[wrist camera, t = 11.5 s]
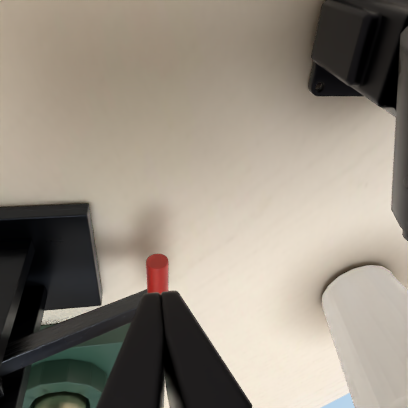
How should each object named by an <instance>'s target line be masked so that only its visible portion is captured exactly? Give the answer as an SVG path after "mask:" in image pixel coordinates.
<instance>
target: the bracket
mask: <svg viewBox="0 0 408 408" xmlns="http://www.w3.org/2000/svg"><path fill="white" fill-rule="evenodd" d="M101 303H102V288H101V281H100V275H99V268H98V261H97V254H96V248H95V241H94V234H93V227H92V221H91V214H90V207H89V204H66V205H43V206H21V207H0V367H1V364H2V361H3V357H4V354H5V350H6V347H7V344H8V343H9V342H11V341H14V340H17V339H19V338H22V337H24V336H27V335H30V334H32V333H35V332H37V331H40V326H41V322H42V317H43V313H44V310H55V309H67V308H78V307H90V306H100V305H101ZM31 366H32V364H31V365H28V366H26V367H23V368H21V369H19V370H16V371H14V372H12V373H9V374H7V375H4V376H2V380H3V386H4V392H5V395H4V396H3V397H1V398H0V408H22V406H23V402H24V397H25V393H26V388H27V384H28V379H29V375H30V371H31Z"/></svg>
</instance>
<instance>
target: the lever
mask: <svg viewBox="0 0 408 408" xmlns="http://www.w3.org/2000/svg"><path fill="white" fill-rule="evenodd" d="M146 271H147V289H146V290H144V291H141V292H139V293H136V294H134V295H131V296H128V297H126V298H123V299H121V300H118V301H115V302H113V303H110V304H108V305H105V306H102V307H100V308H97V309H95V310H92V311H89V312H87V313H84V314H82V315H79V316H76V317H74V318H71V319H69V320H66V321H63V322H61V323H58V324H56V325H53V326H50V327H48V328H45V329H43V330H40V331H37V332H35V333H32V334H30V335H27V336H24V337H22V338H19V339H17V340H14V341H11V342H9V343H8V344H7V347H6V350H5V354H4V357H3V361H2V364H1V367H0V398H1V397H3V396H4V395H5V392H4V386H3V380H2V376H4V375H7V374H9V373H12V372H14V371H16V370H19V369H21V368H23V367H26V366H28V365H31V364H33V363H35V362H38V361H40V360H43V359H45V358H47V357H50V356H52V355H54V354H57V353H59V352H62V351H64V350H66V349H69V348H71V347H74V346H76V345H78V344H81V343H83V342H86V341H88V340H90V339H93V338H95V337H97V336H100V335H102V334H105V333H107V332H109V331H112V330H114V329H117V328H119V327H121V326H124V325H126V324H128V323H131V322H132V319H133V317H134V314H135V312H136V310H137V307H138V305H139V302H140V300H141V297H142V296H143V294H145V293H153V292H158V293H160V296H161V293H162V292H165V291H168V259H167V257H166V256H165V255H162V254H153V255H151V256H149V257H148V258H147V260H146Z"/></svg>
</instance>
